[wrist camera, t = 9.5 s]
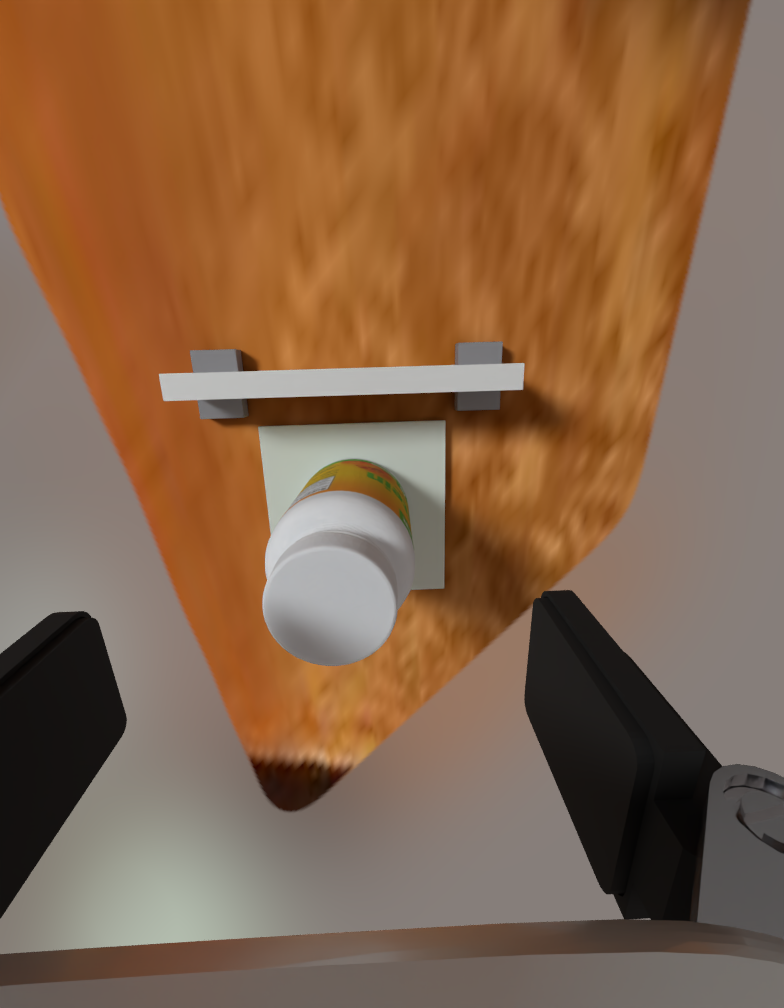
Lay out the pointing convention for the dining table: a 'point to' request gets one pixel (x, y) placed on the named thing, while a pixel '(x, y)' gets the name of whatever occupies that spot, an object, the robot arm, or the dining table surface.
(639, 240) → the dining table surface
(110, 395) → the dining table surface
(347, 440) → the mat
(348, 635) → the supplement bottle
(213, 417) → the low wall
